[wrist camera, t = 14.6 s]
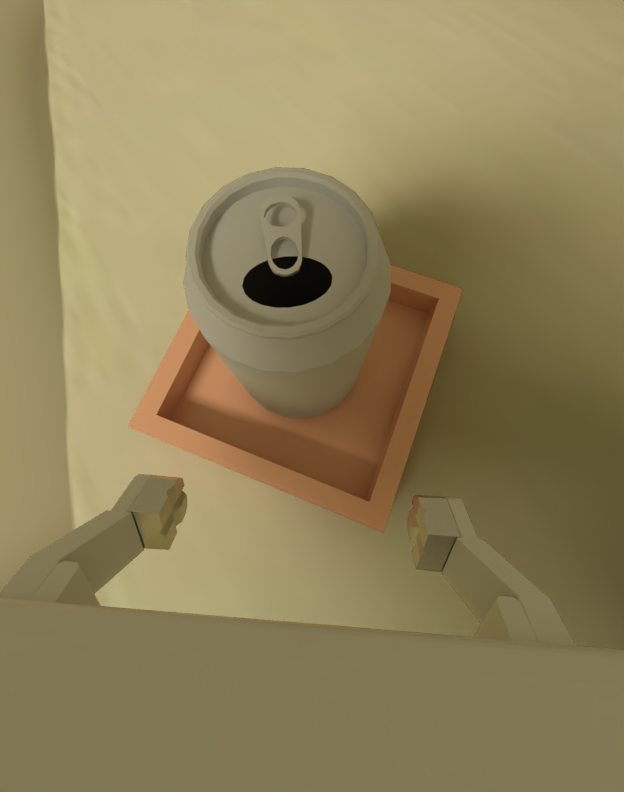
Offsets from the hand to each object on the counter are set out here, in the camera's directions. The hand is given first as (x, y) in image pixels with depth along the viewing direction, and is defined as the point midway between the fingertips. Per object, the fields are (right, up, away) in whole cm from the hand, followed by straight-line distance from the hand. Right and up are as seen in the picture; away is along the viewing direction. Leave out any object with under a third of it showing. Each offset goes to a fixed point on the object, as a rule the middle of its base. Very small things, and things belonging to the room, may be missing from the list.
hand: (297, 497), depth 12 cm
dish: (0, +5, +11) cm, 12 cm away
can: (0, +6, +10) cm, 12 cm away
